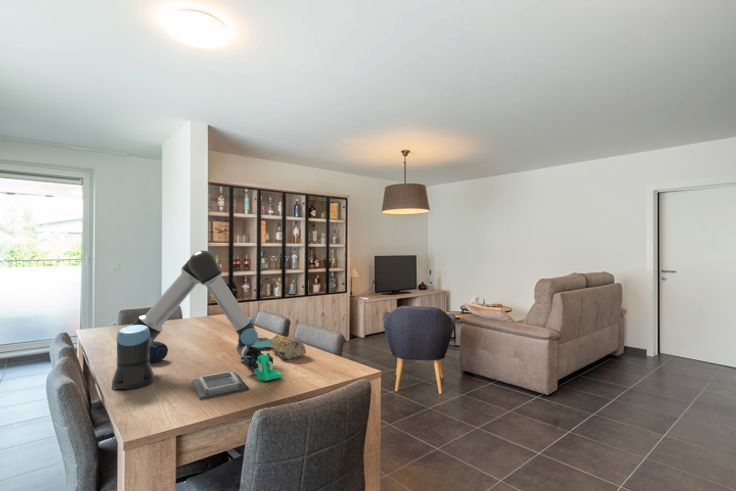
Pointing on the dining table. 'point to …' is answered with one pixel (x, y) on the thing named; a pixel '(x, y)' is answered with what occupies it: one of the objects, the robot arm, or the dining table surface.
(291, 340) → the petrified wood
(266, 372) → the camera mount
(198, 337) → the dining table surface
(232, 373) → the plate
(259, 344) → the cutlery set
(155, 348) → the portable speaker
